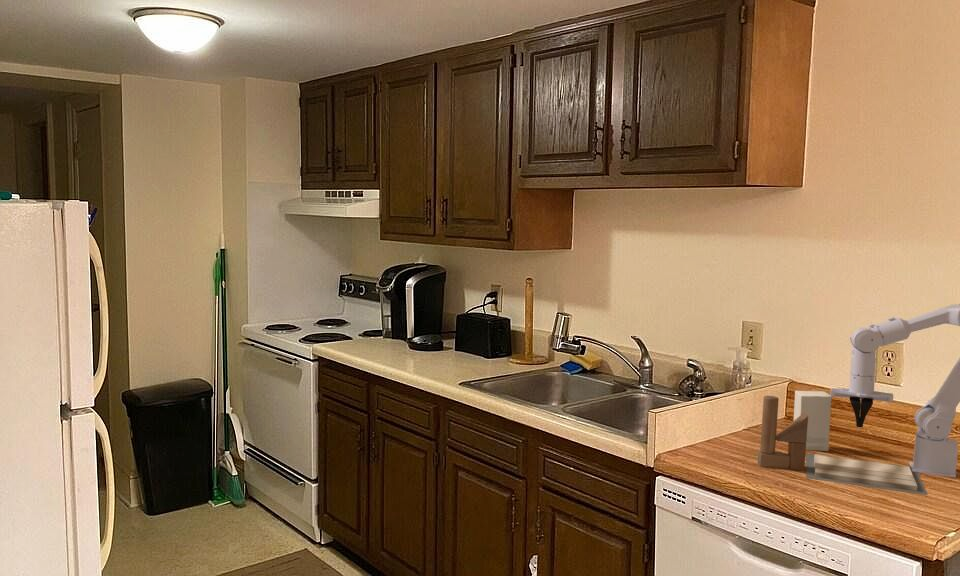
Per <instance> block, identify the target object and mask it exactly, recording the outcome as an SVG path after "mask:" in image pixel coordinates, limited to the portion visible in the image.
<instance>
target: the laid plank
mask: <svg viewBox="0 0 960 576" xmlns="http://www.w3.org/2000/svg"><path fill="white" fill-rule="evenodd" d="M815 477H819V478H827V479H834V480H841V481H848V482H855V483H862V484H869V485H876V486H883V487H890V488H898V489H905V490H912V491H917V484H916V482H915V479H914V477H913V476H907V475H900V474H892V473H885V472H878V471H870V470H863V469H855V468H848V467H840V466H833V465H826V464H818V463H815Z"/></svg>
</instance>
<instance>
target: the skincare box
mask: <svg viewBox="0 0 960 576" xmlns="http://www.w3.org/2000/svg"><path fill="white" fill-rule="evenodd" d="M832 398H833V397H831V396H830V393H828V392H825V391H824V390H818V391H817V390H795V391H794V406H793V421H794V420H796V419H797V418H798V417H799V416H800V415H802V414H803V413H805V414H806V415H807V416H808V426H807V440H806V451H811V452H812V451H813V452H829V450H830V430H831V429H830V428H831V412H832V411H831V410H832Z"/></svg>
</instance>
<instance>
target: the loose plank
mask: <svg viewBox="0 0 960 576" xmlns="http://www.w3.org/2000/svg"><path fill="white" fill-rule="evenodd" d="M815 463H818V464H826V465H833V466H840V467H848V468H855V469H863V470H870V471H878V472H885V473H892V474H900V475H907V476H913V475H912V472H911V470H910V468H909V467H910V466H909V465H902V464H896V463H895V464H894V463H887V462H882V461H881V462H880V461H873V460H864V459H858V458H857V459H856V458H850V457H849V458H848V457H841V456H835V455H828V454H827V455H826V454H818V453H814V464H815Z"/></svg>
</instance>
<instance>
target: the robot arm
mask: <svg viewBox="0 0 960 576" xmlns="http://www.w3.org/2000/svg"><path fill="white" fill-rule="evenodd" d="M887 319H888V320H886V321H883V322H880V323H877V324H873V323H870V324H868V327H859V328H856V329H855V330H854V331H853V332H852V333H851V335H850V337H849V341H850V344H851V345H852V350H851V358H850V359H851V360H850V373H849V374H850V377H849V388H838V387H834V388H833V387H831V388H830V393H829V395H830V396H831V397H832V398H848V399H849V401H850V404H851V407H852V410H853V412H854V418H855V426H856V427H857V428H863V427H864V423H865V420H866V418H867V415H868V413H869V411H870V410H871V408H872V407H873V404H874V401H879V402H881V401H882V402H887V403H894V394H893V393H892V392H890V393H889V392H884V391H883V392H882V391H876V390H875V380H876V367H877V366H876V363H877V358H876V357H877V356H876V355H877V350H878V349H879V348H880V347H884V346H885V347H886V346H888V345H891V344H894V343H897V342H901V341H905V340H908V338H909V337H910V335H911V334H912V333H913V332H919V331H922V330H924V329H929V328H933V327H937V326H940V325H945V324H946V325H950V326H951V325H952V326H957V327H960V303H958V304H957V303H954V304H950V305H947V306H944V307H943V306H942V307H940V308H938V309H935V310H932V311H929V312H926V313H924V314H921V315H917V316H914V317H912V318H909V319H906V320H905V319H903V318H901V317H894V316H891V317H887ZM959 404H960V357H958V359H957V361H956V363H955V364H954V366H953V367H952V369H951V370H950V372H949V374H948V375H947V377H946V379H944V382H943V383H942V385H941V386H940V388H939V390H938V392H937V393H935V395H934V396H933V397H932V398H931V399H929V400H927V402H926V403H925V405H923V407H921V408H919V409H918V410H917V411H916V413H915V414H914V422H915V425H916V426H917V430H916V431H915V436H914V437H915V438H914V447H913V449H914V450H913V459H912V460H913V461H909V462H908V463H909V465H910V466H909V467H911V468H912V470H913V472H918V474H919V473H920V474H926V475H933V476H940V477H942V476H943V477H950V478H957V464H958V454H959V453H958V451H959V450H958V449H959V445H958V441H957V439H954V438H949V435H950V434H951V432H952V430H953V429H952V428H953V423H954V420H955V418H956V417H957V416H956V415H957V413H956V412H957V407H958V405H959Z"/></svg>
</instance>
